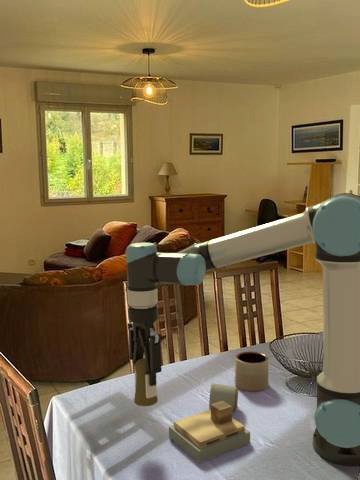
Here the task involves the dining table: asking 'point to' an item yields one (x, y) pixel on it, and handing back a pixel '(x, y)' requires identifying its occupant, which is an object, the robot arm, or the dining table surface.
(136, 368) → the olive pawn
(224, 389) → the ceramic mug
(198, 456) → the dock
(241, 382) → the planter
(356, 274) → the robot arm
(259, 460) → the dining table surface
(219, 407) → the crate
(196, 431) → the pallet
